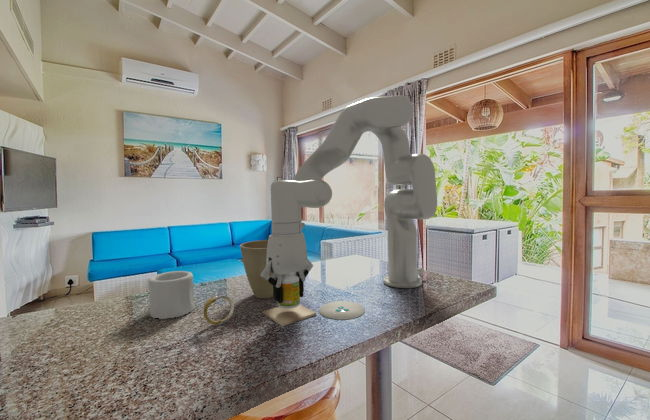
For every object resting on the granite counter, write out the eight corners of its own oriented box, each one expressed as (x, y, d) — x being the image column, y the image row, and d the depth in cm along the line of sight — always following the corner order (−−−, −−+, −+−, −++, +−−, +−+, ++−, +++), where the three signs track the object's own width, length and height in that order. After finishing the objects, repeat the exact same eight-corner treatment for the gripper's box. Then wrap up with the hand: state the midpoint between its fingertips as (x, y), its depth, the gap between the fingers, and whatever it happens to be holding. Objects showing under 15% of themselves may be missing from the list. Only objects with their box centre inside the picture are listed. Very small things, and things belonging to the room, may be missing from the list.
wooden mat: (295, 304, 86) (294, 302, 86) (316, 314, 78) (316, 312, 78) (262, 313, 80) (262, 311, 80) (282, 326, 72) (282, 323, 72)
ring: (204, 330, 71) (202, 296, 70) (203, 324, 74) (202, 292, 73) (235, 324, 74) (234, 291, 73) (233, 319, 77) (232, 288, 76)
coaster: (343, 298, 89) (343, 298, 89) (374, 310, 80) (374, 309, 80) (310, 309, 82) (310, 308, 82) (339, 323, 72) (339, 322, 72)
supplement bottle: (296, 309, 76) (295, 271, 75) (275, 308, 77) (274, 270, 76) (302, 301, 81) (301, 265, 80) (282, 300, 82) (281, 265, 81)
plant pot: (242, 305, 86) (240, 249, 85) (241, 289, 100) (239, 241, 99) (295, 299, 90) (293, 245, 89) (286, 285, 104) (285, 238, 103)
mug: (201, 310, 83) (199, 274, 82) (158, 324, 75) (156, 284, 74) (181, 299, 92) (179, 267, 91) (141, 310, 84) (138, 274, 84)
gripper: (306, 225, 86) (307, 288, 87) (249, 231, 75) (251, 302, 76) (322, 227, 80) (324, 294, 81) (263, 233, 69) (266, 311, 70)
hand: (289, 297), depth 79 cm, fingers closed on supplement bottle, 5 cm apart
